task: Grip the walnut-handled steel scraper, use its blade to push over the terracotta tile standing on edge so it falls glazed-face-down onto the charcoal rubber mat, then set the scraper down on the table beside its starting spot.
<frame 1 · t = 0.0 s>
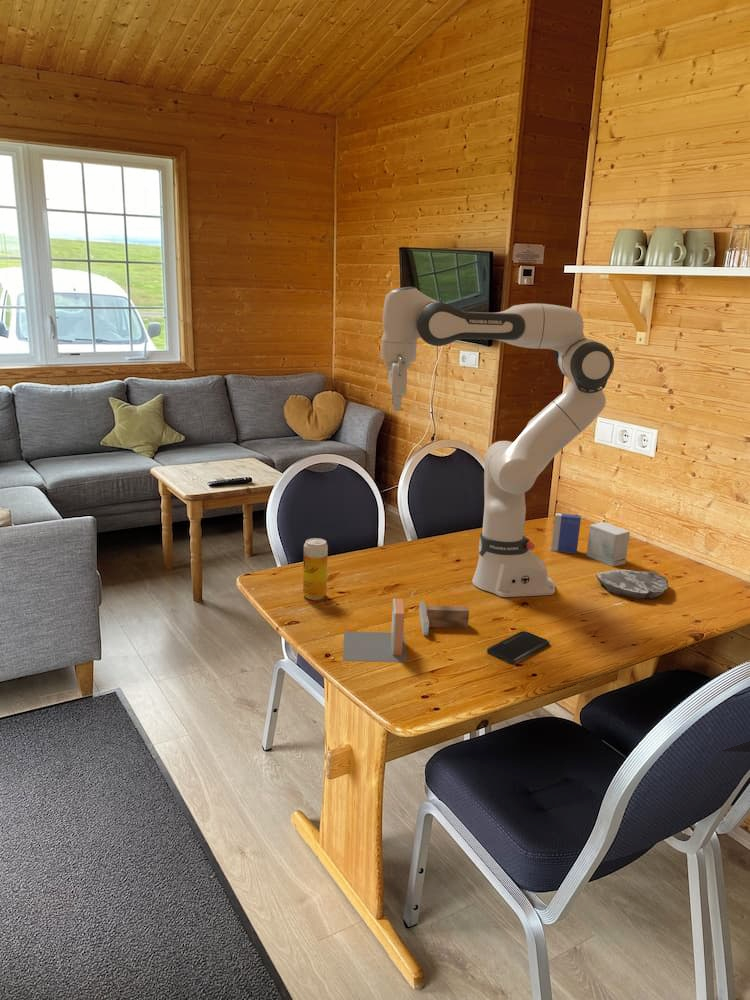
hand: (395, 407, 197), 48 cm above the table, tool pointing down, fingers open, 8 cm apart
skincare box: (605, 560, 234), on the table
walnut scraper: (448, 627, 184), on the table
charcoal mat: (374, 648, 172), on the table
grey stone slab: (634, 591, 212), on the table
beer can: (314, 596, 198), on the table
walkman: (563, 551, 240), on the table
terracotta tile: (396, 646, 172), resting on charcoal mat
phone: (518, 650, 175), on the table
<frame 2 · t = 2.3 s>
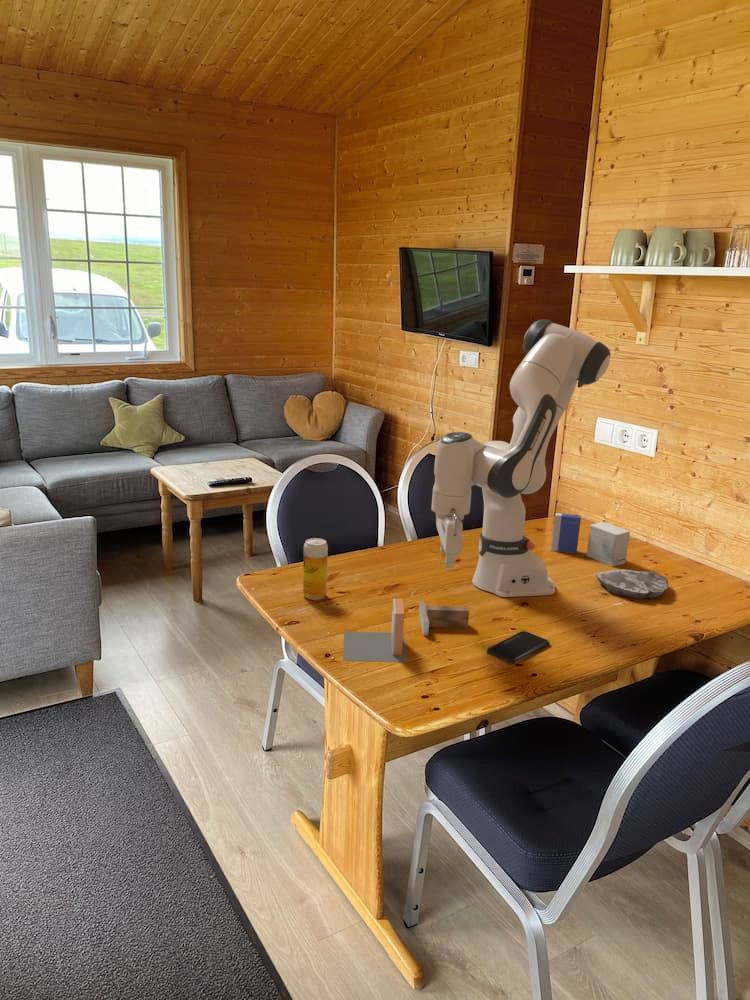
hand: (446, 560, 179), 17 cm above the table, tool pointing down, fingers open, 8 cm apart
nothing on the table moved.
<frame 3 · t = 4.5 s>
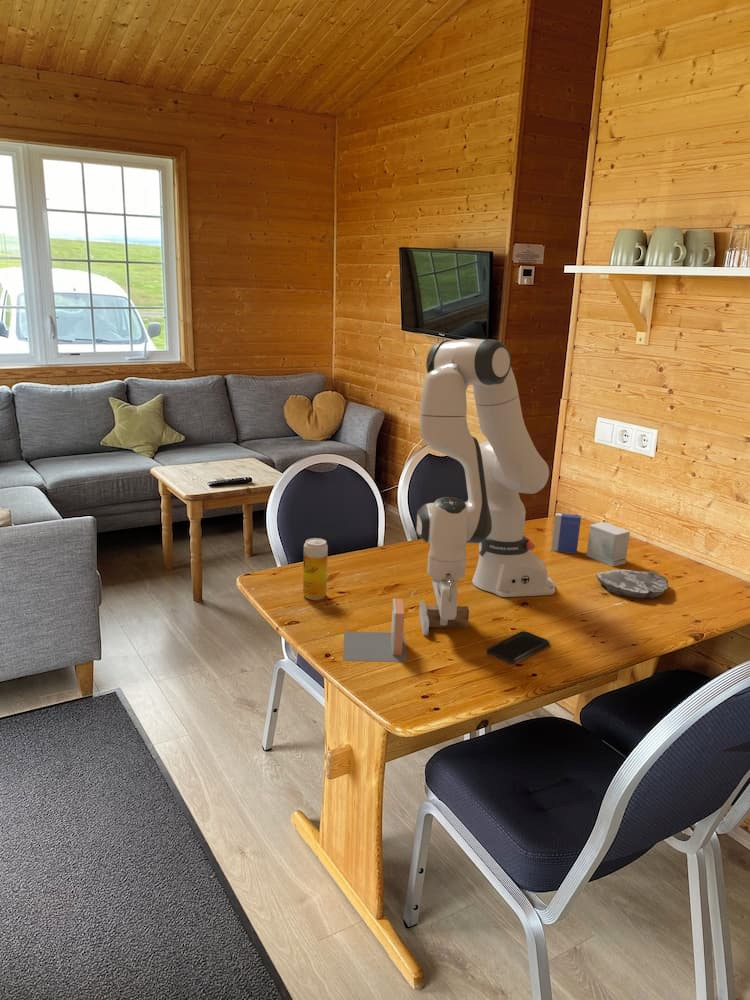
hand: (442, 620, 183), 2 cm above the table, tool pointing down, fingers closed on walnut scraper, 2 cm apart
walnut scraper: (448, 627, 184), on the table, touching gripper
everything else where it was.
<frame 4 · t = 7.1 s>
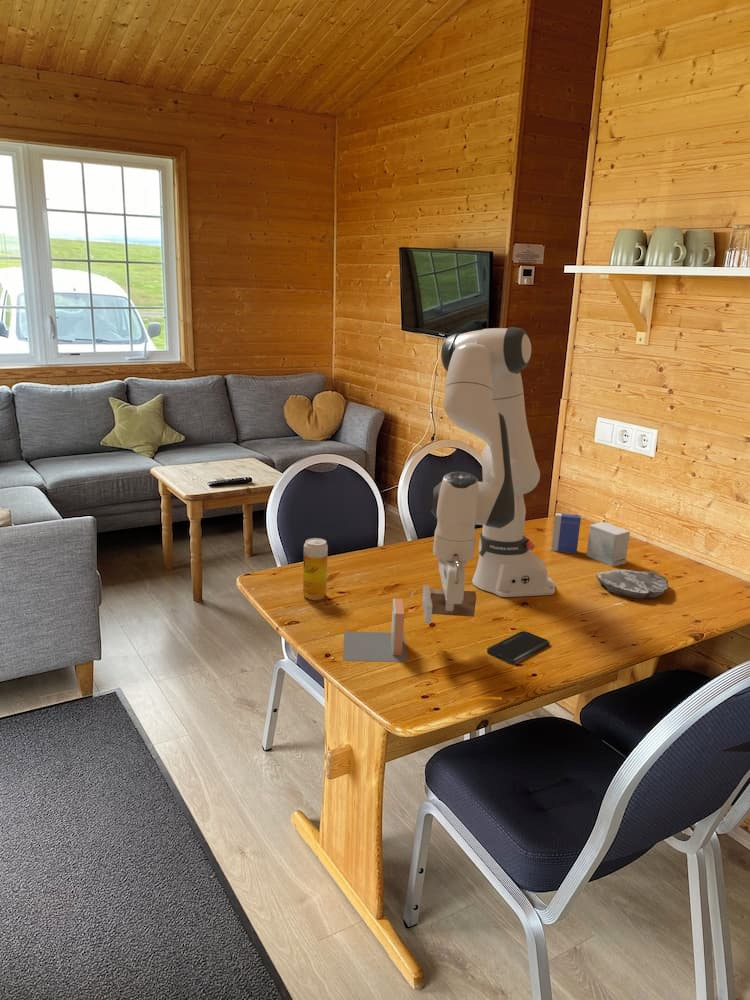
hand: (448, 606, 170), 11 cm above the table, tool pointing down, fingers closed on walnut scraper, 2 cm apart
walnut scraper: (453, 613, 170), point 9 cm above the table, touching gripper
everything else where it was.
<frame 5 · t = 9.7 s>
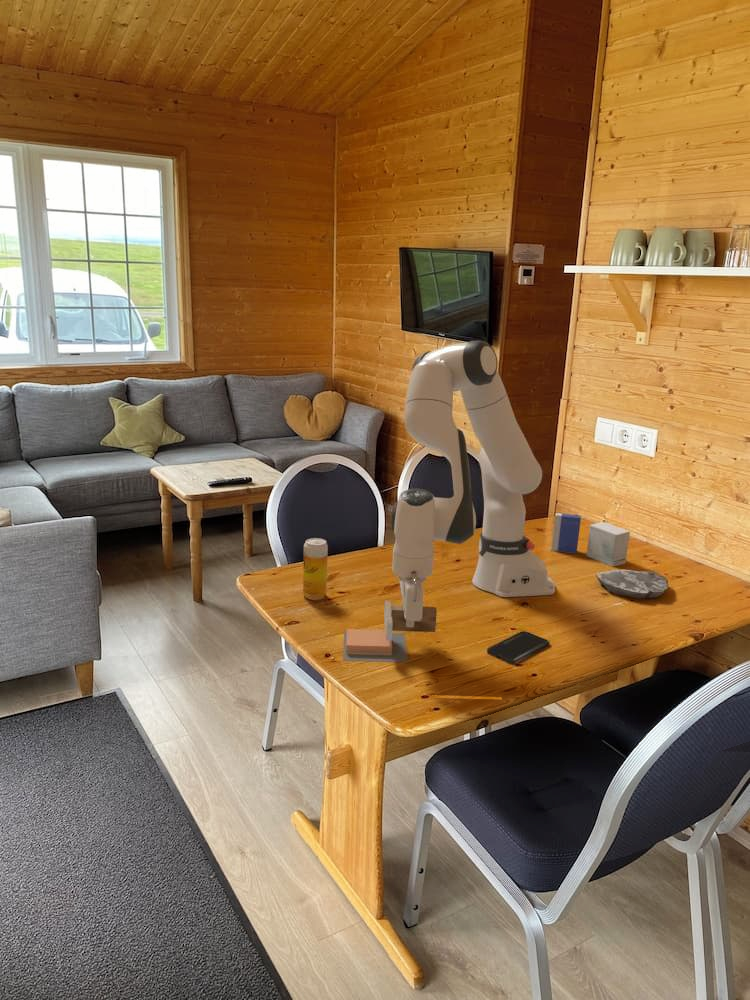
hand: (409, 622, 170), 7 cm above the table, tool pointing down, fingers closed on walnut scraper, 2 cm apart
walnut scraper: (414, 629, 171), point 5 cm above the table, touching gripper
terracotta tile: (391, 641, 172), point 2 cm above the table, tilted 90°, touching charcoal mat
everything else where it was.
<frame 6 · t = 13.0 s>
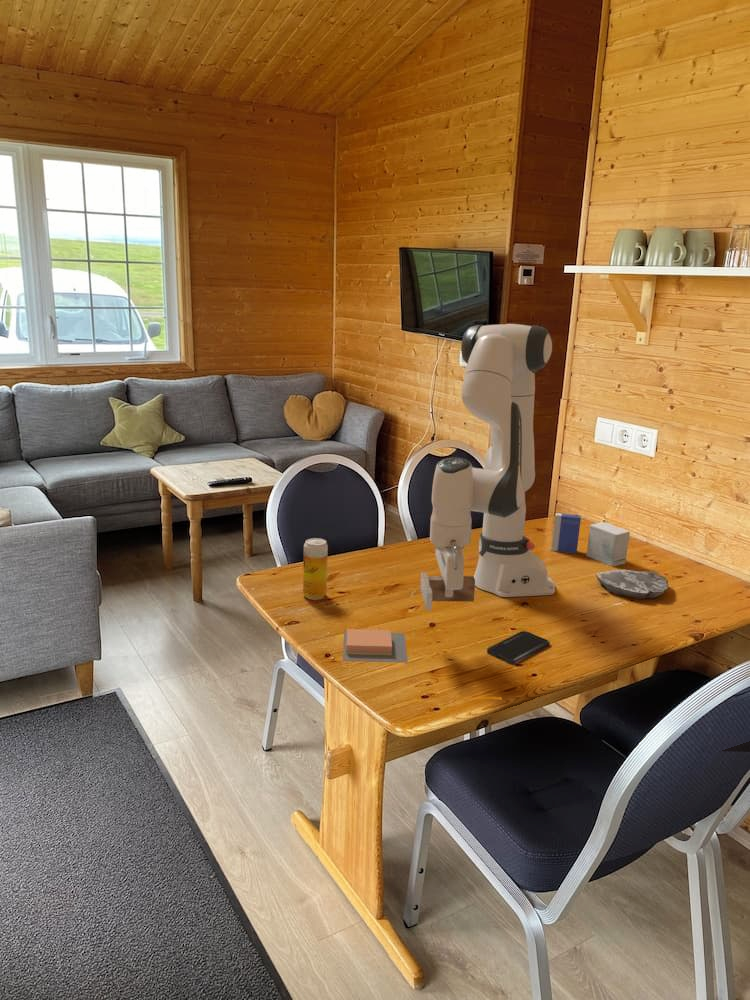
hand: (447, 592, 169), 14 cm above the table, tool pointing down, fingers closed on walnut scraper, 2 cm apart
walnut scraper: (452, 599, 170), point 12 cm above the table, touching gripper
everything else where it was.
when the fingers open (3 cm above the table, at t = 16.0 s): walnut scraper drops 2 cm, on the table.
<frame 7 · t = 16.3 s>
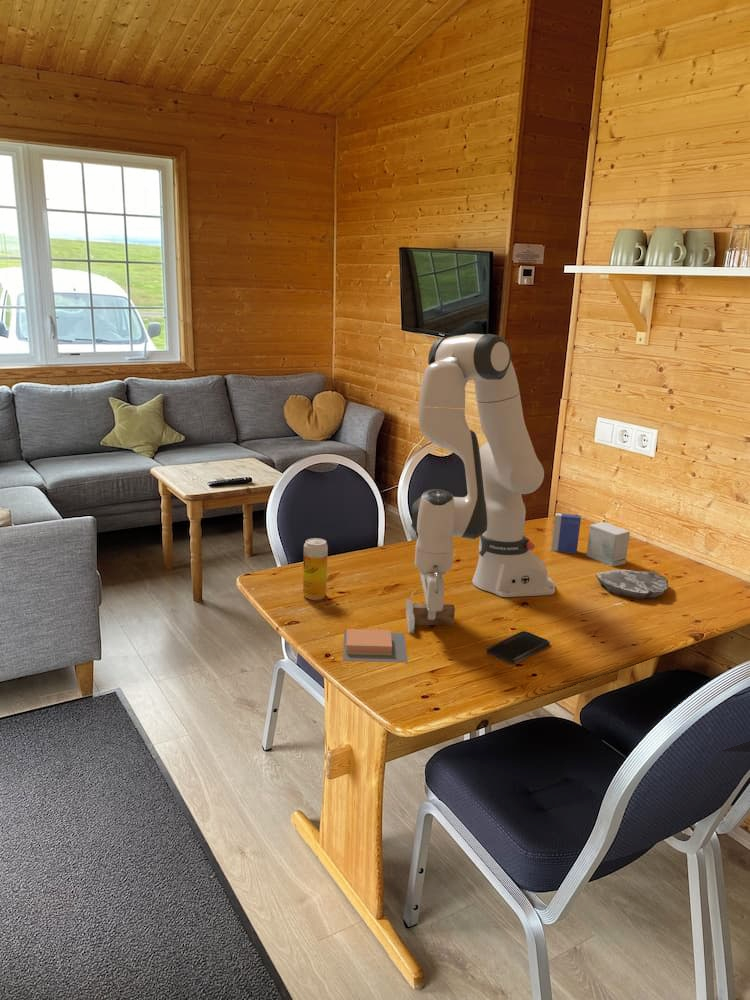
hand: (430, 612, 184), 3 cm above the table, tool pointing down, fingers open, 5 cm apart
walnut scraper: (434, 625, 185), on the table
everything else where it was.
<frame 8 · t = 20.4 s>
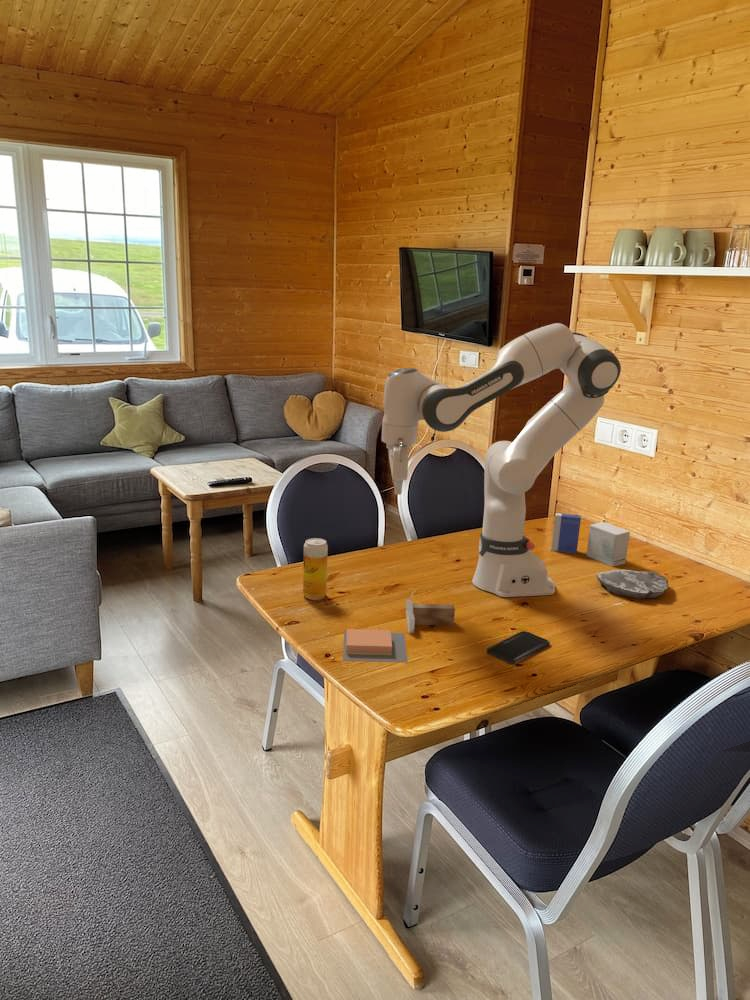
hand: (396, 488, 193), 29 cm above the table, tool pointing down, fingers open, 8 cm apart
nothing on the table moved.
at the end: terracotta tile tilted 90°; terracotta tile inside the target area on the charcoal mat (3.7 cm from its centre), point 1.7 cm above the charcoal mat's base; walnut scraper touching table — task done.
